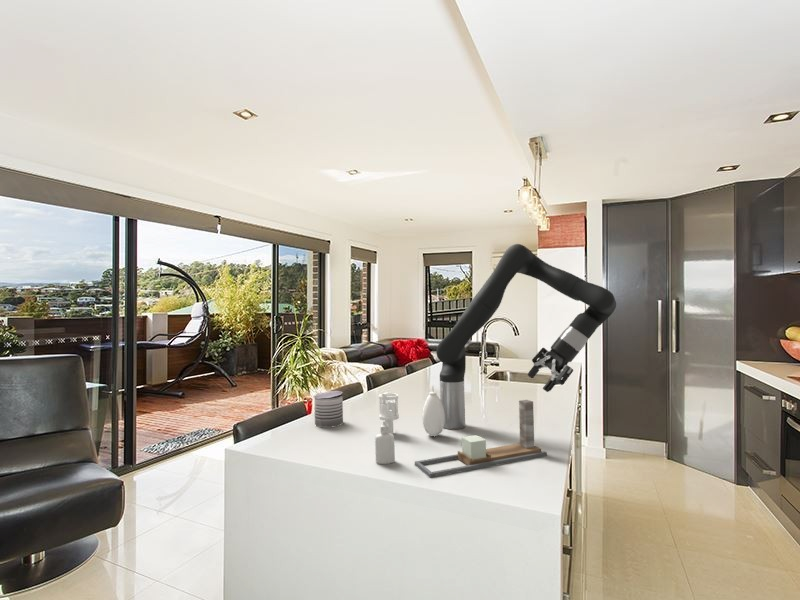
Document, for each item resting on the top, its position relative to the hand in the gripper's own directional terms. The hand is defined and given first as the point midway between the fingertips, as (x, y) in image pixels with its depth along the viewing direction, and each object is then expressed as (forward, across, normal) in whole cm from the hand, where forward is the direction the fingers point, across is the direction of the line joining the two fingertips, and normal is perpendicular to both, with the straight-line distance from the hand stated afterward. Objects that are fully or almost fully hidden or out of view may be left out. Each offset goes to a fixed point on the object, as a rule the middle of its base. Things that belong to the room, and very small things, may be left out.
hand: (537, 383), depth 137 cm
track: (+27, +11, -9) cm, 30 cm away
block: (+27, +11, -12) cm, 32 cm away
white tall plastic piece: (+48, -22, -18) cm, 55 cm away
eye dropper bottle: (+45, +3, -30) cm, 54 cm away
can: (+64, -42, -29) cm, 82 cm away
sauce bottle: (+37, -14, -8) cm, 41 cm away
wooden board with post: (+24, +11, -4) cm, 26 cm away
